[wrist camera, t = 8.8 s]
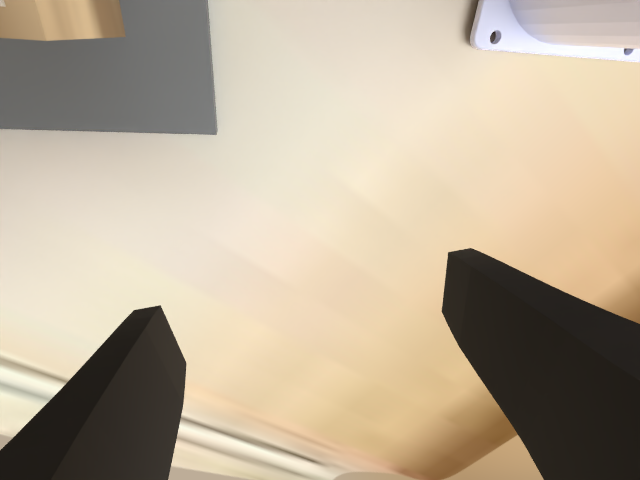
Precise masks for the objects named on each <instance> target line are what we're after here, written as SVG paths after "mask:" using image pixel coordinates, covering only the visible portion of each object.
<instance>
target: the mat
mask: <svg viewBox="0 0 640 480" xmlns="http://www.w3.org/2000/svg"><path fill="white" fill-rule="evenodd" d="M119 2H120V8H121V13H122V19H123V24H124V30H125V35H126V37H115V38H94V39H73V40H53V41H42V40H26V39H11V38H0V129H27V130H63V131H99V132H136V133H172V134H208V135H216V134H217V120H216V106H215V93H214V80H213V66H212V53H211V40H210V26H209V13H208V0H119Z"/></svg>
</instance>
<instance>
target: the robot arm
mask: <svg viewBox="0 0 640 480" xmlns="http://www.w3.org/2000/svg"><path fill="white" fill-rule="evenodd" d="M494 31H495V33H496V38H495V40H494V42H492V43H491V42H490V36H491V34H492V33H493V32H494ZM470 42H471V45H472V46H473V48H475V49H481V50H494V51H506V52H519V53H531V54H544V55H556V56H569V57H581V58H594V59H606V60H619V61H631V62H640V0H479V2H478V6H477V10H476V14H475V19H474V23H473V27H472V31H471V35H470ZM624 48H626V50H625V52H624ZM442 313H443V315H444V317H445V320H446V322H447V324H448V326H449V328H450V330H451V332H452V334H453V336H454V338H455V340H456V341H457V343H458V345H459V347H460V348H461V350H462V352H463V353H464V355H465V356H466V358H467V359H468V361H469V362H470V364H471V365H472V367H473V368H474V370H475V371H476V373H477V374H478V376H479V377H480V379H481V380H482V381H483V383H484V384H485V386H486V387H487V389H488V390H489V392H490V393H491V395H492V396H493V398H494V399H495V401H496V402H497V404H498V405H499V406H500V408H501V409H502V411H503V412H504V414H505V415H506V417H507V418H508V420H509V421H510V423H511V424H512V426H513V427H514V429H515V430H516V432H517V434H518V435H519V437H520V438H521V440H522V441H523V443H524V445H525V446H526V448H527V450H528V452H529V453H530V455H531V457H532V459H533V461H534V463H535V464H536V466H537V468H538V470H539V472H540V473H541V475H542V477H543V479H544V480H640V324H638V323H636V322H633V321H631V320H628V319H626V318H623V317H621V316H618V315H616V314H613V313H611V312H609V311H606V310H604V309H602V308H599V307H597V306H595V305H592V304H590V303H588V302H585V301H583V300H581V299H579V298H576V297H574V296H572V295H570V294H568V293H565V292H563V291H561V290H559V289H557V288H555V287H552V286H550V285H548V284H546V283H544V282H542V281H540V280H538V279H536V278H534V277H531V276H529V275H527V274H525V273H523V272H521V271H519V270H517V269H515V268H513V267H511V266H509V265H507V264H505V263H503V262H501V261H498V260H496V259H494V258H492V257H490V256H488V255H486V254H484V253H481V252H479V251H477V250H474V249H472V248H469V249H464V250H458V251H453V252H448V260H447V269H446V279H445V288H444V297H443V306H442ZM185 376H186V361H185V359H184V357H183V355H182V352H181V350H180V348H179V346H178V343H177V341H176V339H175V337H174V334H173V332H172V330H171V328H170V326H169V323H168V321H167V319H166V317H165V314H164V312H163V310H162V308H161V305H160V306H155V307H149V308H144V309H138V310H134V311H133V312H132V313H131V314H130V315H129V316H128V317H127V318H126V319H125V320H124V321H123V322H122V323H121V324H120V326H119V327H118V328H117V329H116V330H115V331H114V332H113V333H112V334H111V335H110V337H109V338H108V339H107V340H106V341H105V342H104V343H103V344H102V345H101V347H100V348H99V349H98V350H97V351H96V352H95V353H94V354H93V355H92V356H91V357H90V359H89V360H88V361H87V362H86V363H85V364H84V365H83V366H82V367H81V368H80V369H79V371H78V372H77V373H76V374H75V375H74V376H73V377H72V378H71V379H70V380H69V381H68V382H67V384H66V385H65V386H64V387H63V388H62V389H61V390H60V391H59V392H58V393H57V394H56V395H55V396H54V397H53V398H52V399H51V400H50V401H49V402H48V403H47V404H46V405H45V406H44V407H43V408H42V409H41V410H40V411H39V412H38V413H37V414H36V415H35V416H34V417H33V418H32V419H31V420H30V421H29V422H28V423H27V424H26V425H25V426H24V427H23V428H22V429H21V430H20V432H19V433H18V434H17V435H16V436H15V437H14V438H13V439H12V440H11V441H9V442H8V444H6V445H5V446H4V447H3V448H2V449H1V450H0V480H168V477H169V472H170V467H171V463H172V458H173V453H174V448H175V443H176V438H177V433H178V428H179V423H180V418H181V413H182V408H183V401H184V390H185Z"/></svg>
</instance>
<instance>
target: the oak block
mask: <svg viewBox="0 0 640 480" xmlns="http://www.w3.org/2000/svg"><path fill="white" fill-rule="evenodd" d="M115 37H126V35H125V30H124V24H123V19H122V13H121V8H120V2H119V0H0V38H11V39H26V40H42V41H53V40H73V39H94V38H115Z"/></svg>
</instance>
